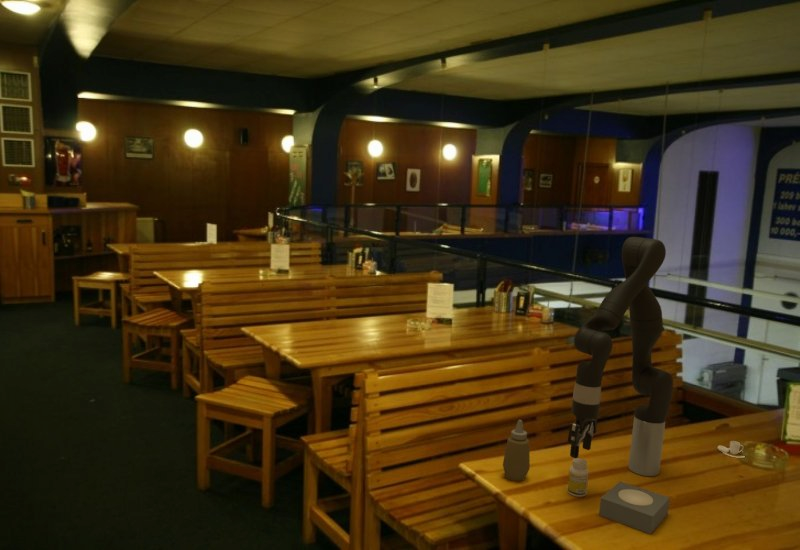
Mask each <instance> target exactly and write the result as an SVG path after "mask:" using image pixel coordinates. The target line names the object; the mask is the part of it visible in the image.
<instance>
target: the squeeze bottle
mask: <svg viewBox="0 0 800 550" xmlns="http://www.w3.org/2000/svg"><path fill="white" fill-rule="evenodd" d="M527 437H528V432H527V431H526V430H524V426H523V420H522V419H518V420H517V422H516V426H515V428H514V429H512V430H511V433H510V436H508V437H507V440H506V441H507V442H506V446H505V452H504V456H503V462H502V468H503V472H504V475H505V477H506V478H507V479H508V480H510V481H515V482H521V481H524V480H525V479H526V477H527V475H528V473H529V471H530V465H531V464H530V461H531V460H530V458H531V457H530V440H529V439H528V438H527Z"/></svg>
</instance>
